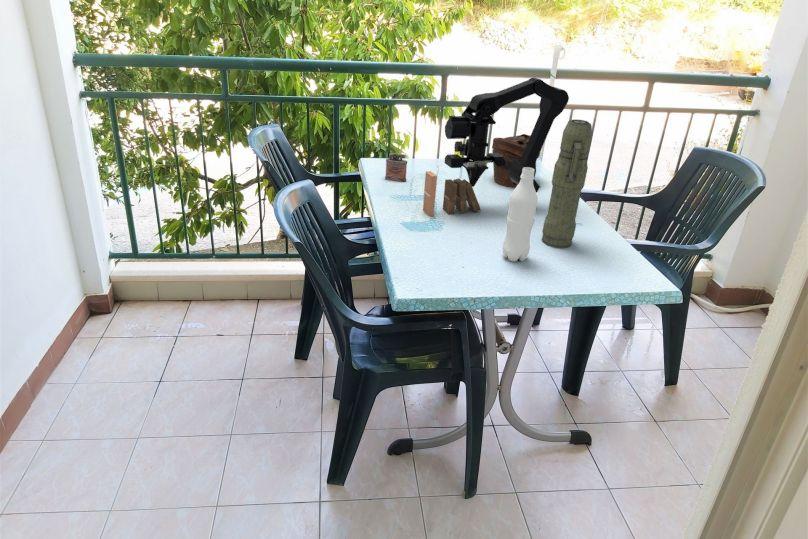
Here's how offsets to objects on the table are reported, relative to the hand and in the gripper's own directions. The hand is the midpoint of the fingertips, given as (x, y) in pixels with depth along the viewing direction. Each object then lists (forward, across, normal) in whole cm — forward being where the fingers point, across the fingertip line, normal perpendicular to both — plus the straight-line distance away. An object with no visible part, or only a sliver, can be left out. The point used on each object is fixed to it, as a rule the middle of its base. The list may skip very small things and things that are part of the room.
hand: (472, 186), depth 181 cm
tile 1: (+8, -2, 0) cm, 8 cm away
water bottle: (+8, +3, +36) cm, 37 cm away
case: (+8, -29, -25) cm, 39 cm away
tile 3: (+8, +8, 0) cm, 11 cm away
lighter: (+8, +15, -34) cm, 38 cm away
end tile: (+8, +14, 0) cm, 17 cm away
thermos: (+8, -15, +29) cm, 33 cm away
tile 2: (+8, +3, 0) cm, 9 cm away
